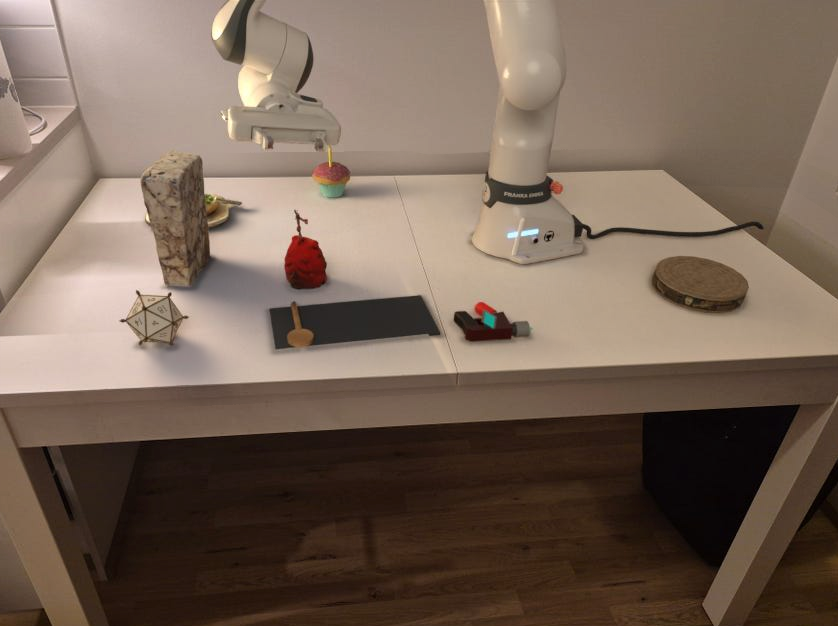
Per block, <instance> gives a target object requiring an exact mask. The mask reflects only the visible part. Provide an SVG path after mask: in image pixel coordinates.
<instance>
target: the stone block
mask: <svg viewBox="0 0 838 626" xmlns="http://www.w3.org/2000/svg"><path fill="white" fill-rule="evenodd" d="M203 170H204V168H203V158H202V157H201V156H200V155H199V154H193V153H187V152H181V151H175V150H170V151H168V152H166V153H165V154H164V155H162V156H161V157H160V158H159V159H158V160H157V161H155V163H154V164H153V165H152V166H150V167H149V168H147V169H146V170H145V171H144V172H143V173H142V175H141V176H140V179H139V180H140V188H141V191H142V198H143V203H144V206H145V208H146V211H148V216H149V220H150V224H151V226H150V227H151V231H152V234H153V237H154V240H155V248H156V253H157V258H158V262H159V266H160V269H161V272H162V273H161V274H162V279H163V283H164V286H169V287H171V286H172V287H185V288H187V287H191V286H192V285H193V283H194V282H195V280H196V279H197V277H198V276H199V274H200V272H201V270H203V269H205V268H206V266H207V265H208V264H209V261H210V260H211V259H212V256H211V247H210V244H211V243H210V233H209V232H210V231H209V228H208V220H207V211H206V204H205V194H206V193H205V180H204V171H203Z"/></svg>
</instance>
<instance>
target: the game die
mask: <svg viewBox="0 0 838 626" xmlns="http://www.w3.org/2000/svg"><path fill="white" fill-rule="evenodd" d="M135 294H136V296H137V297H136V299H135V301H134V303H133V305H132V306H131V309H130V311H129V313H128V314H127V316H126V318H125V319H124V318H121V319H119V322H120V323H126V324H127V326H128V327H129V328H130V329H131V330H132V331H133V333H134V334H135V335H136V337H137V338H138V339H139V340H138V346H142V345H143V344H144V343H161V344H162V343H163V344H169V346H174V342H172V341H173V340H174V337H175V336H176V334H177V331H178V330H179V328H180V325H181V324H182V322H183V320H188V319H189V318H190V316H188V315H187V314H186V315H184V316H183V314H182V313H181V311H180V310H179V309H178V307H177V306H176V304H175V303H174V302H173V300H172V298H171V297H172V296H173V294H172V291H170V292H167V295H155V294H141V292H140V290H138V289H136V290H135Z"/></svg>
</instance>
